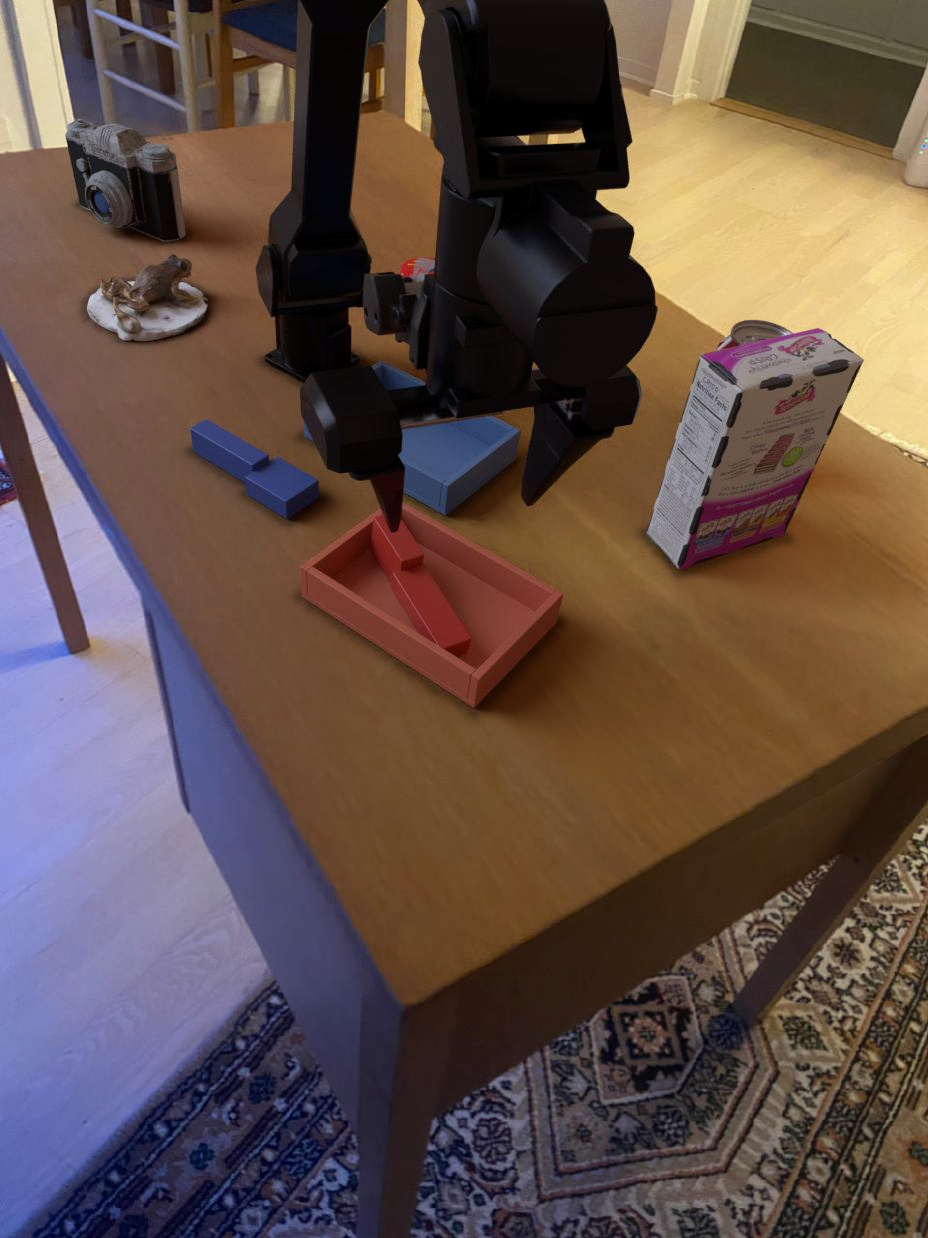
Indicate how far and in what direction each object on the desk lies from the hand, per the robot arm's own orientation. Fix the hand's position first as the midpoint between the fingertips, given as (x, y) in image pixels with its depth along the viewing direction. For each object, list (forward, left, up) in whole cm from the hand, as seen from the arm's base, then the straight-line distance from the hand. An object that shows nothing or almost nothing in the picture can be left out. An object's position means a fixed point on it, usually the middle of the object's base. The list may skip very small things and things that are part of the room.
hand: (460, 514), depth 56 cm
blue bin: (-15, +14, -10) cm, 22 cm away
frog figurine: (-47, +14, -10) cm, 51 cm away
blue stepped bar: (-22, +2, -10) cm, 24 cm away
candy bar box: (+11, +22, -10) cm, 26 cm away
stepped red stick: (-2, 0, -8) cm, 8 cm away
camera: (-64, +24, -10) cm, 69 cm away
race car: (-27, +38, -10) cm, 48 cm away
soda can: (+6, +32, -10) cm, 34 cm away
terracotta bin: (-2, 0, -10) cm, 10 cm away
